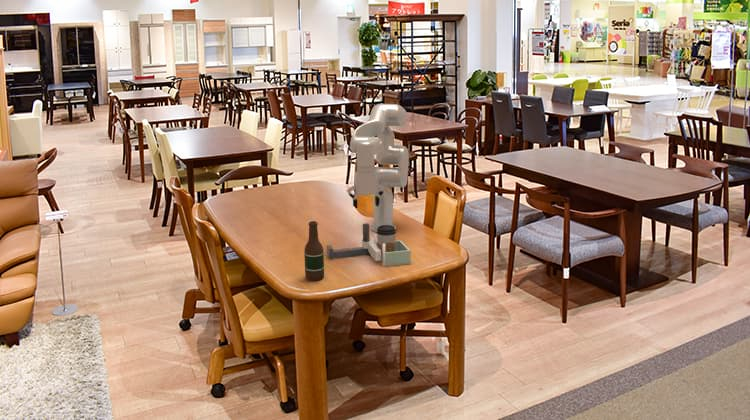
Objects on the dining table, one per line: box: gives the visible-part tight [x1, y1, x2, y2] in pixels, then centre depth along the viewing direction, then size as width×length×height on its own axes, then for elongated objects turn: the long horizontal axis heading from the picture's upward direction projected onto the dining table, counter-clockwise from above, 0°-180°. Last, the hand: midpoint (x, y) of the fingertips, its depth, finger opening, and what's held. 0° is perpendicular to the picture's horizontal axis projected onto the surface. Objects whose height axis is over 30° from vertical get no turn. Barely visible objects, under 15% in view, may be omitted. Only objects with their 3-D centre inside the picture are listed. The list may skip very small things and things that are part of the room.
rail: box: [326, 244, 371, 261], centre depth 313 cm, size 5×28×5 cm, turn 105°
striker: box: [361, 223, 381, 262], centre depth 306 cm, size 17×6×12 cm, turn 15°
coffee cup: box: [376, 225, 397, 263], centre depth 305 cm, size 8×8×15 cm
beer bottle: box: [303, 220, 325, 282], centre depth 284 cm, size 8×8×24 cm
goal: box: [373, 233, 412, 268], centre depth 306 cm, size 15×12×10 cm
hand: (366, 206), depth 309 cm, fingers open, 9 cm apart
